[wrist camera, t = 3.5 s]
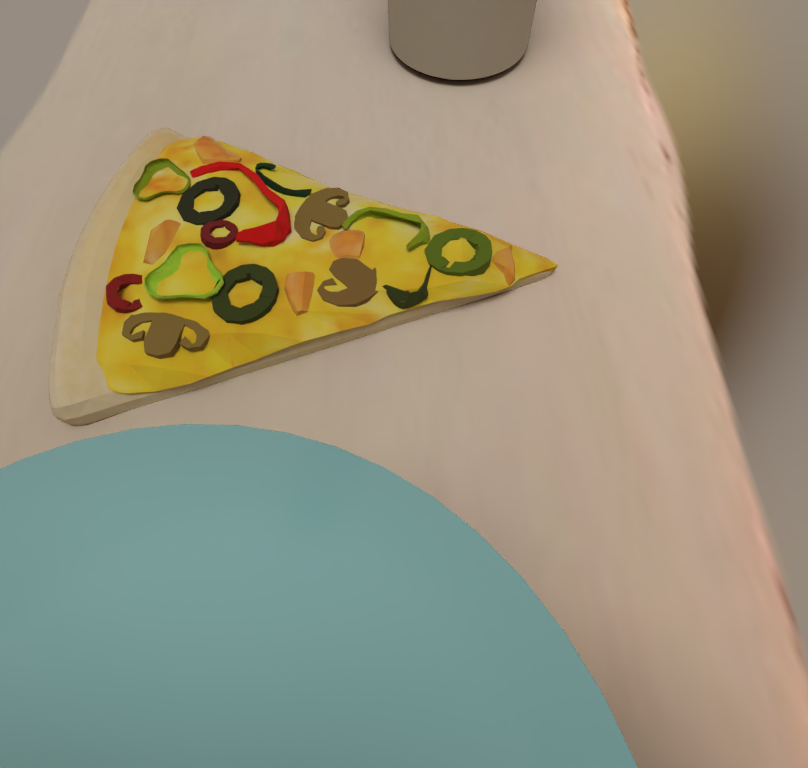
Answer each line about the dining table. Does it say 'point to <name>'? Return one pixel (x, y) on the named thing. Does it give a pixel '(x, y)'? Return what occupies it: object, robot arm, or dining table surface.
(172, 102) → the dining table surface
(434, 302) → the pizza slice
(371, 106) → the dining table surface
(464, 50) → the travel mug
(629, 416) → the dining table surface
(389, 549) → the teal rounded cylinder
